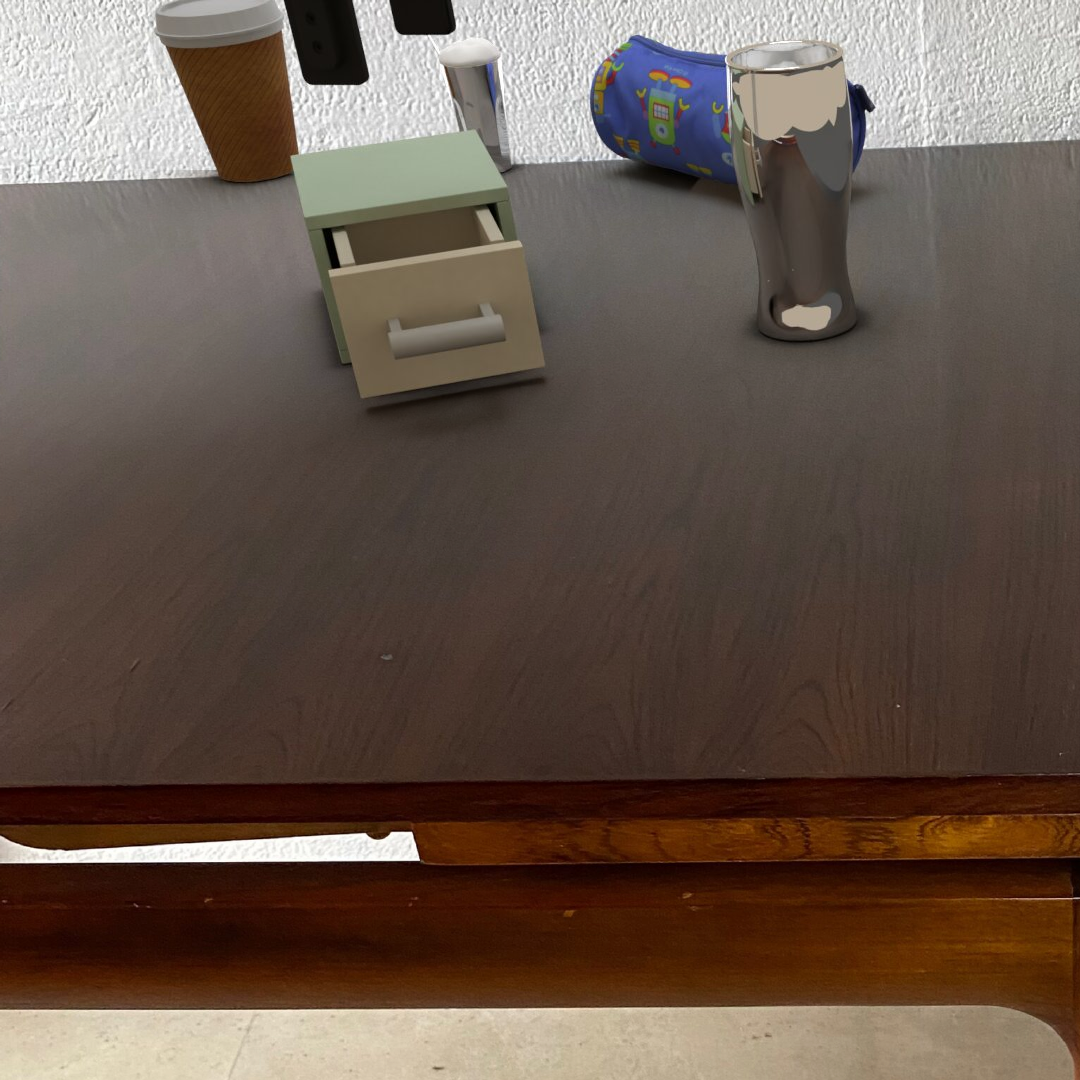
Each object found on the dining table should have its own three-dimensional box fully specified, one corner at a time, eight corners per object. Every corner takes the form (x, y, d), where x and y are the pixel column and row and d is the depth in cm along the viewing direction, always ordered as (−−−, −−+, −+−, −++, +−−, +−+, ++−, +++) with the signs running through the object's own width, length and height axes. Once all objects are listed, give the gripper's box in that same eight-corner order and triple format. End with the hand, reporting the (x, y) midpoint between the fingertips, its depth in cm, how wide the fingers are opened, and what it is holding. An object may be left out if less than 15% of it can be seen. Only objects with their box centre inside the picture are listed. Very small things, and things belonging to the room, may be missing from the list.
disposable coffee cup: (302, 185, 133) (257, 13, 125) (181, 192, 133) (129, 21, 126) (335, 150, 140) (295, -14, 133) (220, 156, 141) (173, -7, 133)
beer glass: (756, 304, 107) (728, 41, 98) (867, 300, 107) (850, 35, 98) (744, 346, 102) (714, 72, 93) (862, 342, 102) (843, 66, 92)
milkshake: (462, 160, 136) (435, 21, 130) (528, 159, 135) (503, 19, 129) (443, 178, 132) (413, 35, 126) (510, 177, 132) (483, 34, 125)
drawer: (558, 393, 96) (535, 269, 91) (368, 427, 93) (335, 301, 89) (512, 297, 108) (490, 184, 104) (343, 325, 106) (313, 211, 102)
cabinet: (535, 332, 106) (507, 186, 100) (342, 364, 103) (303, 216, 98) (501, 264, 116) (475, 129, 111) (325, 292, 113) (290, 155, 108)
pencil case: (884, 191, 124) (875, 46, 118) (801, 225, 119) (788, 75, 113) (674, 146, 136) (657, 13, 130) (591, 175, 131) (570, 37, 125)
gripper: (308, -380, 82) (392, 17, 93) (98, -354, 69) (225, 104, 80) (453, -388, 80) (522, 16, 91) (267, -363, 67) (374, 105, 78)
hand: (384, 57), depth 85 cm, fingers open, 9 cm apart
